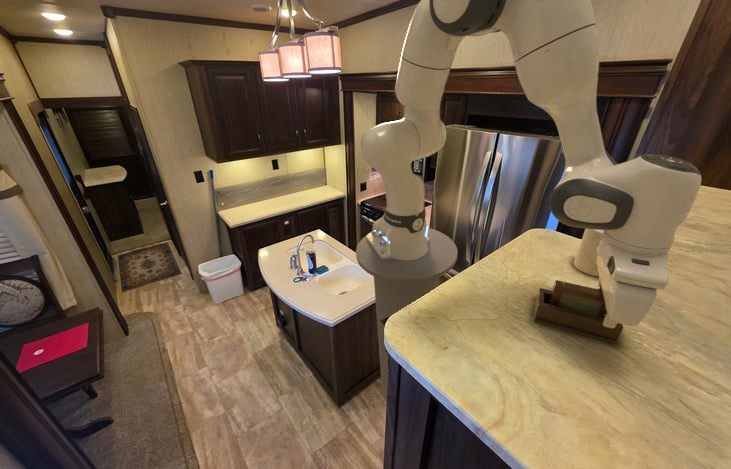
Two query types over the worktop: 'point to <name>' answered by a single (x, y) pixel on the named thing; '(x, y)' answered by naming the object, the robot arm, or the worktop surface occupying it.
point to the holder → (573, 320)
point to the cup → (588, 252)
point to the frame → (578, 298)
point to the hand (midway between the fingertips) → (604, 308)
